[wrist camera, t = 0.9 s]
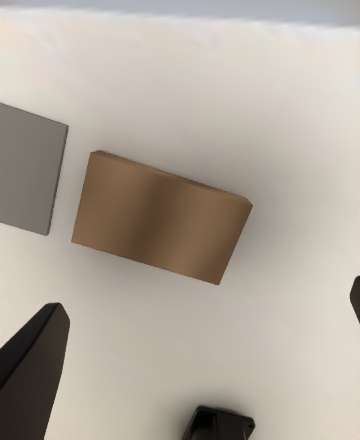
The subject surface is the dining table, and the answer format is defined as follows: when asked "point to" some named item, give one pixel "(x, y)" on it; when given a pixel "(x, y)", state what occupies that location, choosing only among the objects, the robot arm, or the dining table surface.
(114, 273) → the dining table surface
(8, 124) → the support pad
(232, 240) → the walnut slab
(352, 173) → the dining table surface
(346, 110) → the dining table surface
